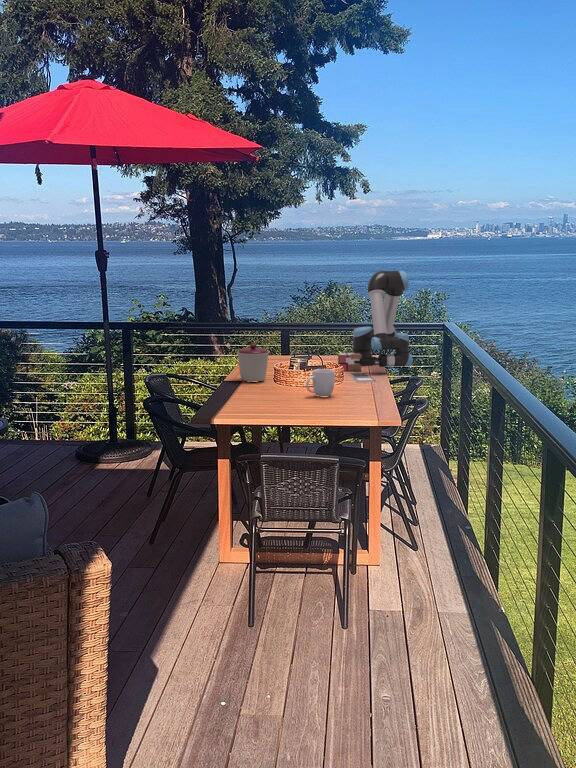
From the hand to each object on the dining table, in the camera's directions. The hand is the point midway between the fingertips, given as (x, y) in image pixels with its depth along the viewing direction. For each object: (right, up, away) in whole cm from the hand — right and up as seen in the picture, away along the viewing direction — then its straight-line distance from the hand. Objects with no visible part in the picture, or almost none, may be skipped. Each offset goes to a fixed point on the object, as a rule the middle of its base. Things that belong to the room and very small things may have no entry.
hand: (347, 361), depth 464 cm
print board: (+8, -11, -17) cm, 22 cm away
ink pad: (+7, -9, -6) cm, 13 cm away
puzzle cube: (+1, -5, +17) cm, 18 cm away
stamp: (+5, -6, +2) cm, 8 cm away
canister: (-54, -12, -22) cm, 59 cm away
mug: (-18, -20, -63) cm, 68 cm away
